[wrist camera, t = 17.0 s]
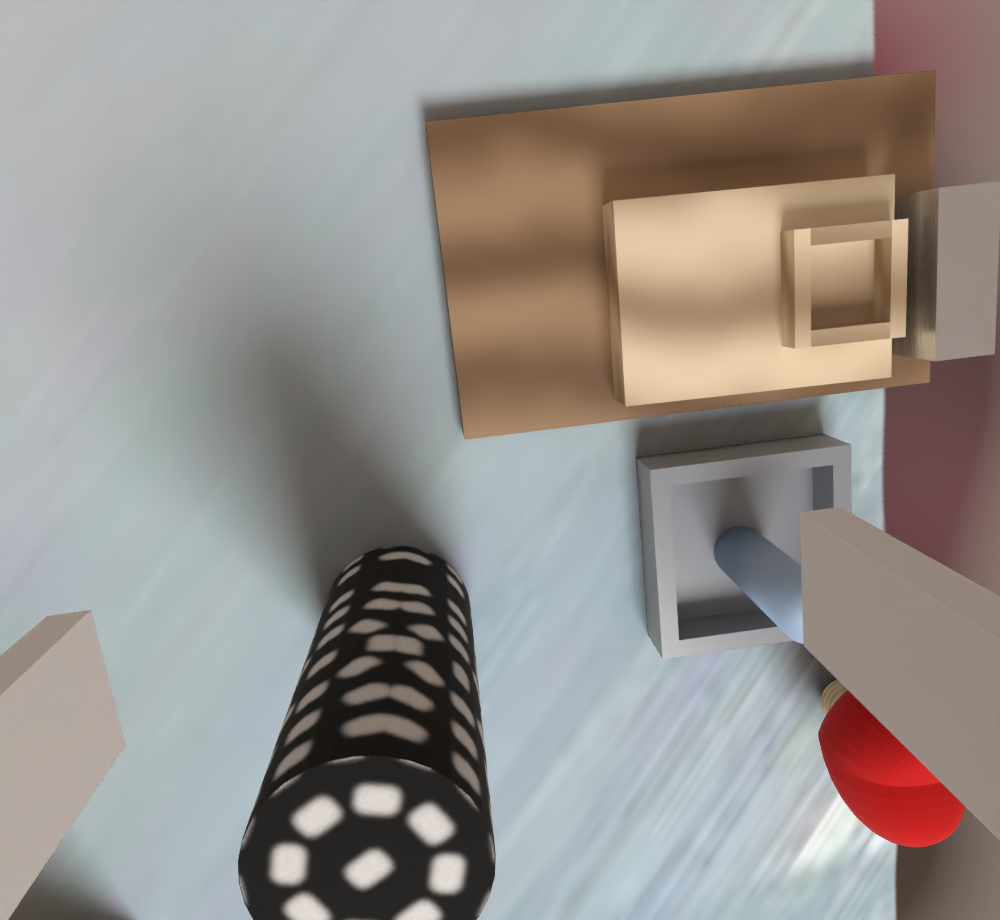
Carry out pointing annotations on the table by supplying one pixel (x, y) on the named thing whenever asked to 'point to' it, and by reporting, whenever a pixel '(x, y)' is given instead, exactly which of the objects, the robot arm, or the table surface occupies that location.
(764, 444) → the tray
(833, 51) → the table surface
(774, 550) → the dowel
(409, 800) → the spotted tube
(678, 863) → the table surface
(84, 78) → the table surface
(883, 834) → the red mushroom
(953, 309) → the block
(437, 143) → the board
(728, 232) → the wooden block with recess
